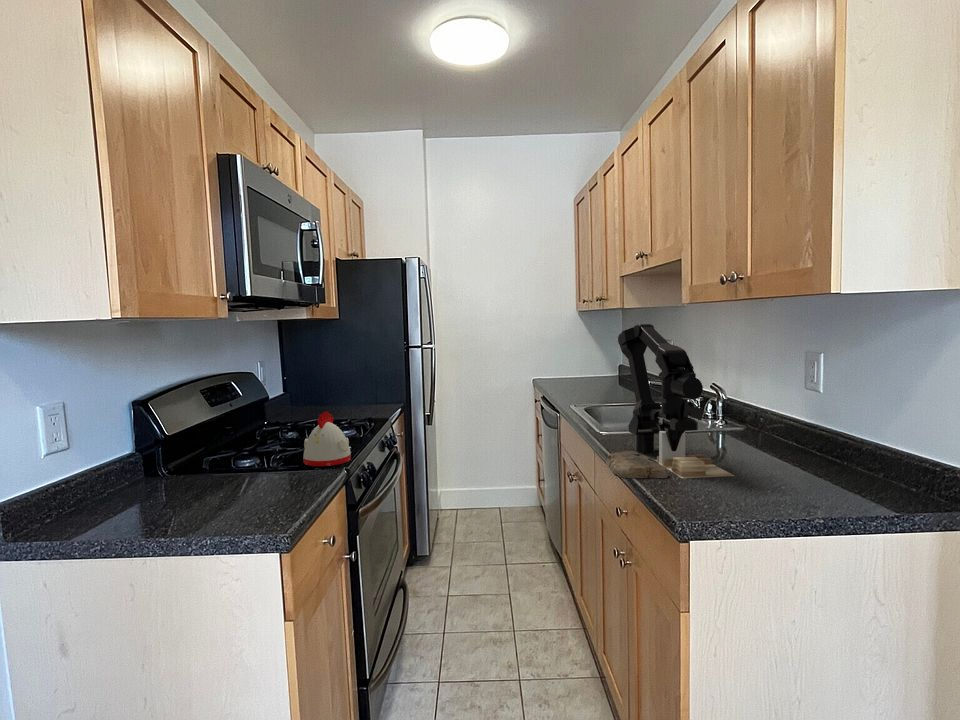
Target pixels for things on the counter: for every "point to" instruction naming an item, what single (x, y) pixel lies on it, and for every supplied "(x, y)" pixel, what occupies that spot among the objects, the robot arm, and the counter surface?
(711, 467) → the rack
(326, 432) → the kitchen timer
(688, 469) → the oak offcut
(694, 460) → the pine offcut
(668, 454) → the panel
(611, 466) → the craggy brown boulder
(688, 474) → the tan wooden square tile
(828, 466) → the counter surface
